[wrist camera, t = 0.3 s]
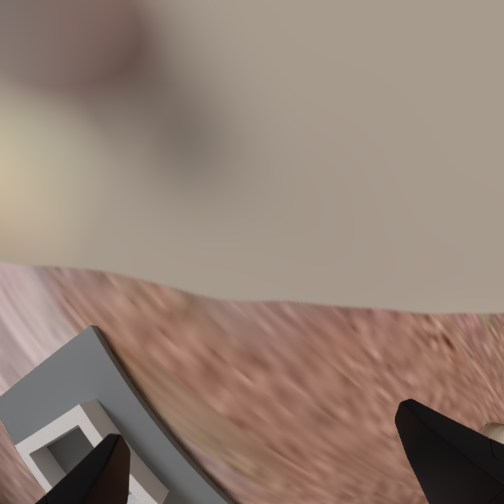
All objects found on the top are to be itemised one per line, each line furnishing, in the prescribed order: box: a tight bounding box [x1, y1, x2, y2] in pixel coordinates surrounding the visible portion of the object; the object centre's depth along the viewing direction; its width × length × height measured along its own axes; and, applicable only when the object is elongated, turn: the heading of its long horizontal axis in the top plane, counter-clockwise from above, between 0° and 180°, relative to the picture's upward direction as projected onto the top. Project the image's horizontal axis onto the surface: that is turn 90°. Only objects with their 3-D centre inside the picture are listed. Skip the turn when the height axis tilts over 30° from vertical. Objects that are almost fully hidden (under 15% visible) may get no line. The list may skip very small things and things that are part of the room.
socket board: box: [0, 325, 235, 504], centre depth 17 cm, size 20×16×4 cm
